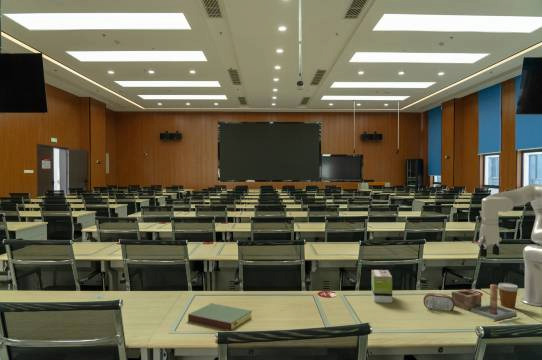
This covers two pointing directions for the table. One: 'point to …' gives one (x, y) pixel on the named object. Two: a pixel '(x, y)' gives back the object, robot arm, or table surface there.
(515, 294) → the disposable coffee cup
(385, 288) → the tea box
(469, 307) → the socket block
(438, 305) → the tin
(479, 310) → the tray
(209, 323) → the hardcover book
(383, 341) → the table surface
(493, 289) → the dowel
